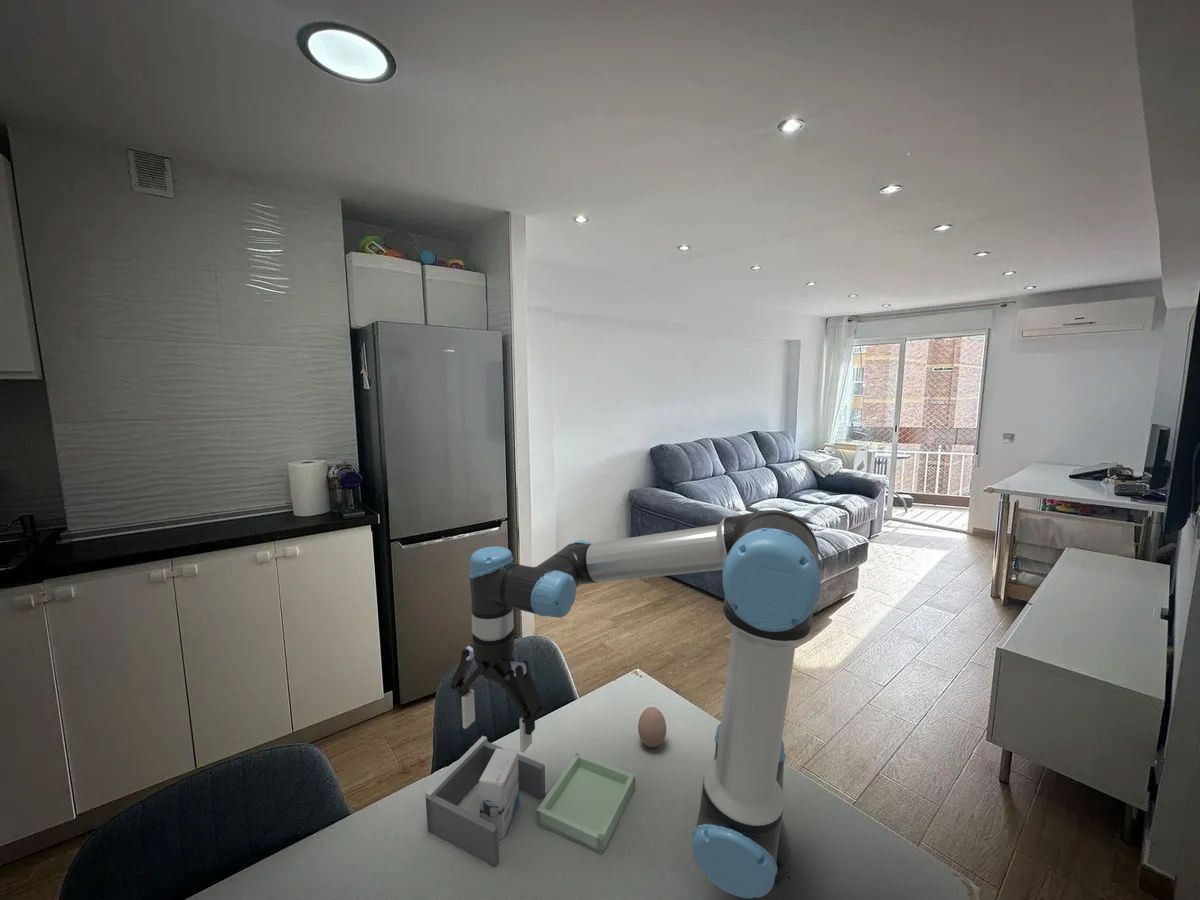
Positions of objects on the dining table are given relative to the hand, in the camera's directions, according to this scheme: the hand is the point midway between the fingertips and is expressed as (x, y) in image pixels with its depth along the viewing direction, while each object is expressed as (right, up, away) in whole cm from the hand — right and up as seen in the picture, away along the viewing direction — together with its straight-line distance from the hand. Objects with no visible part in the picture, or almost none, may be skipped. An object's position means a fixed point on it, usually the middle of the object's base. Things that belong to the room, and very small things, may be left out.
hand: (496, 735), depth 91 cm
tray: (+17, -17, +5) cm, 25 cm away
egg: (+32, -15, +21) cm, 41 cm away
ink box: (0, -18, +2) cm, 18 cm away
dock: (-2, -17, +4) cm, 18 cm away
